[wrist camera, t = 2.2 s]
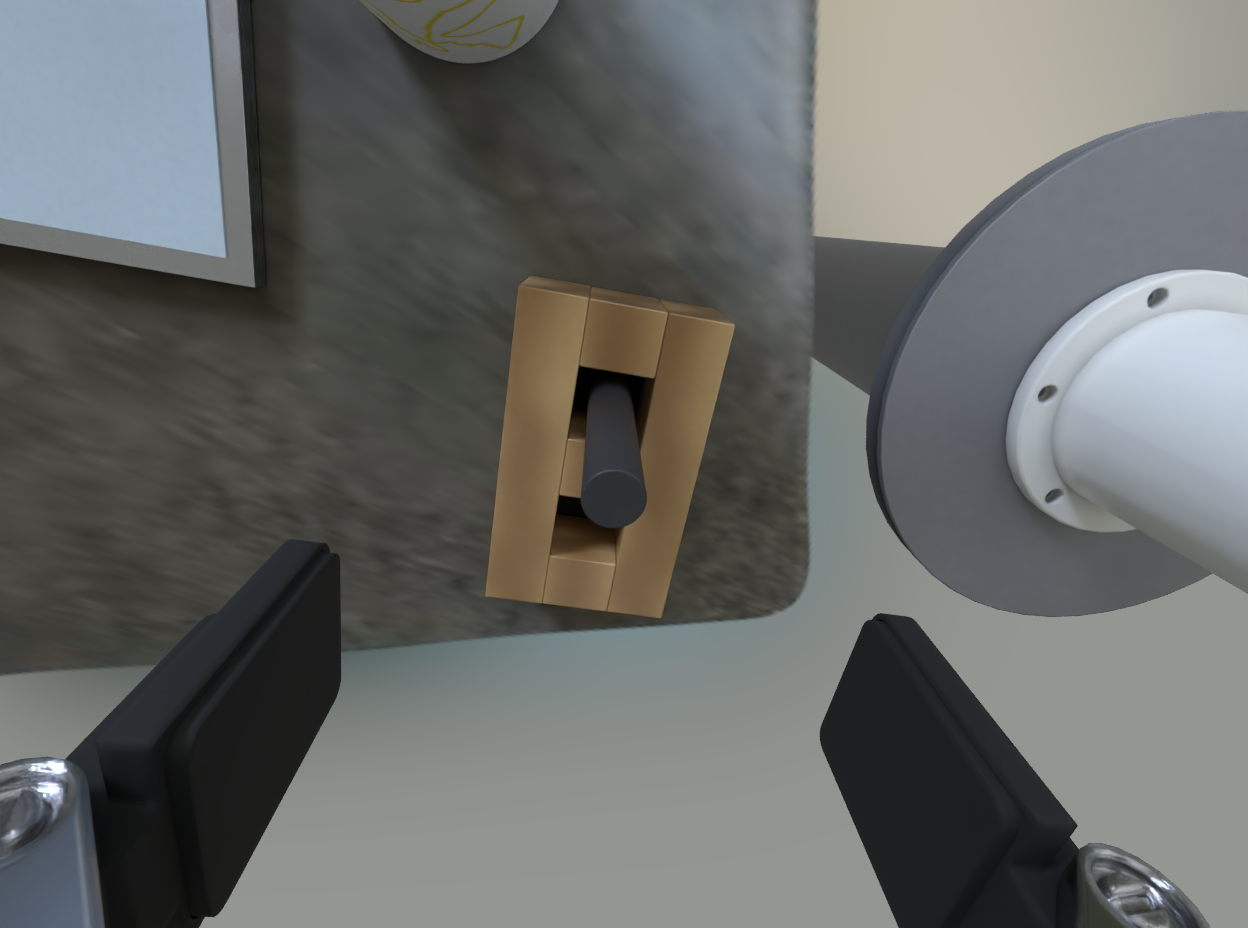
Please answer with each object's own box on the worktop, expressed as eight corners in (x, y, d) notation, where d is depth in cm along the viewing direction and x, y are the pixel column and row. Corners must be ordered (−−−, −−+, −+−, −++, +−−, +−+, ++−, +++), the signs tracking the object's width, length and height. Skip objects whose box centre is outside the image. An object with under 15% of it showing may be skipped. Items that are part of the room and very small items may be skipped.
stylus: (632, 367, 26) (653, 475, 15) (625, 404, 27) (640, 533, 16) (593, 360, 26) (586, 465, 15) (587, 398, 27) (576, 524, 16)
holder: (716, 309, 25) (735, 324, 22) (654, 571, 31) (661, 619, 27) (530, 274, 25) (518, 284, 21) (499, 550, 30) (484, 596, 26)
